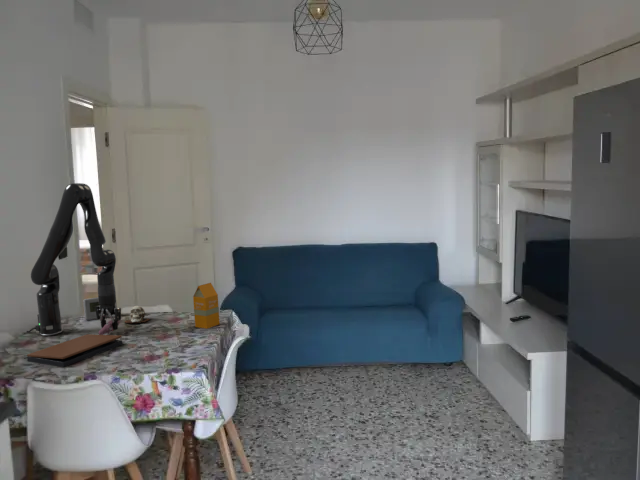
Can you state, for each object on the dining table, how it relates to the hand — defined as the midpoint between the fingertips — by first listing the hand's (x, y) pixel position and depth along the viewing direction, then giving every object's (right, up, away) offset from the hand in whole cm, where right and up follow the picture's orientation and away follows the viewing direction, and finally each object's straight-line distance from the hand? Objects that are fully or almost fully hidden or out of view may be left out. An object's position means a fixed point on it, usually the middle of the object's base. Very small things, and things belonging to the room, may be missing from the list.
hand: (109, 328), depth 261 cm
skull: (+6, 0, +22) cm, 23 cm away
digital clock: (-17, 0, +33) cm, 37 cm away
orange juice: (+43, 0, +9) cm, 44 cm away
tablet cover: (-5, -4, -25) cm, 26 cm away
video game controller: (0, -2, 0) cm, 2 cm away
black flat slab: (-4, -6, -25) cm, 26 cm away
